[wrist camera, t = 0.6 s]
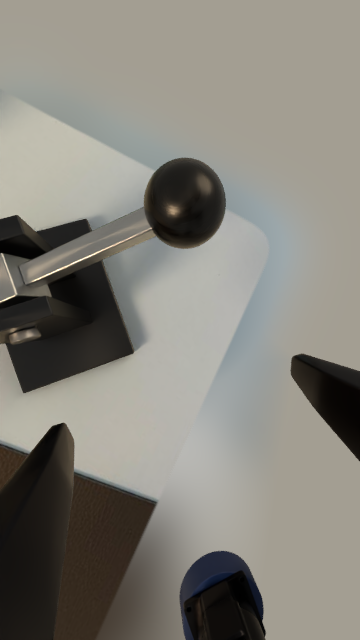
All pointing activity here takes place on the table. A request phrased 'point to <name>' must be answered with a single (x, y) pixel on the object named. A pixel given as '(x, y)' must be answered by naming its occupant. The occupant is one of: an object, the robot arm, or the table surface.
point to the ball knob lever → (127, 230)
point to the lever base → (60, 312)
